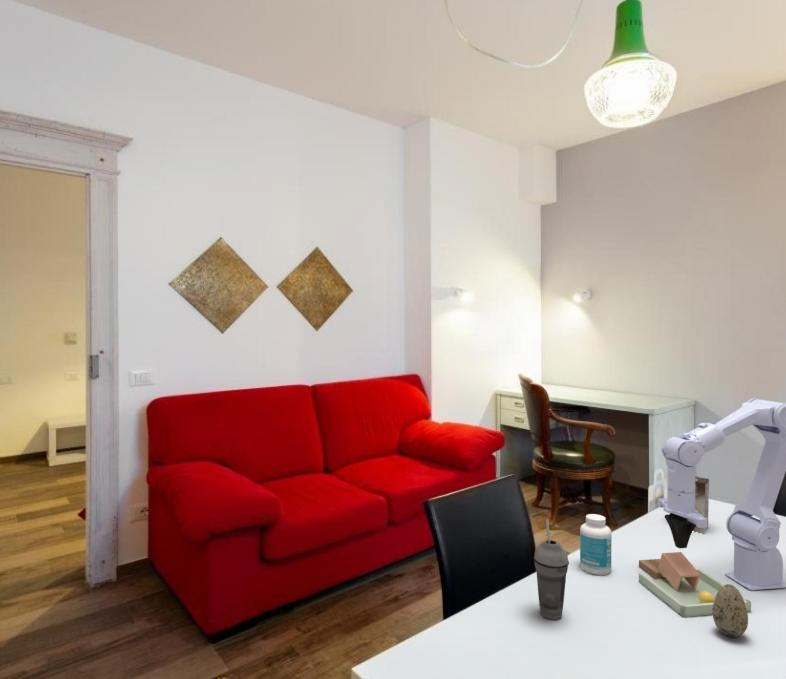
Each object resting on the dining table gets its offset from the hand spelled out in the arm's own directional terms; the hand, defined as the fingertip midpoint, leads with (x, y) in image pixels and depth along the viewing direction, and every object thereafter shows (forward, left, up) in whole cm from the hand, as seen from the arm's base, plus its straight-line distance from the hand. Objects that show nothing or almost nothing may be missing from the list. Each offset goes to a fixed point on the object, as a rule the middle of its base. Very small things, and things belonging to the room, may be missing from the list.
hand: (681, 547), depth 121 cm
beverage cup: (+35, +7, -10) cm, 37 cm away
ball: (0, +9, -6) cm, 11 cm away
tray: (0, +4, -10) cm, 10 cm away
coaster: (0, -7, -10) cm, 12 cm away
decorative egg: (+3, +19, -10) cm, 21 cm away
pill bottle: (+15, -11, -10) cm, 21 cm away
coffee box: (-27, -32, -10) cm, 43 cm away
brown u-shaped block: (0, -4, -5) cm, 6 cm away
